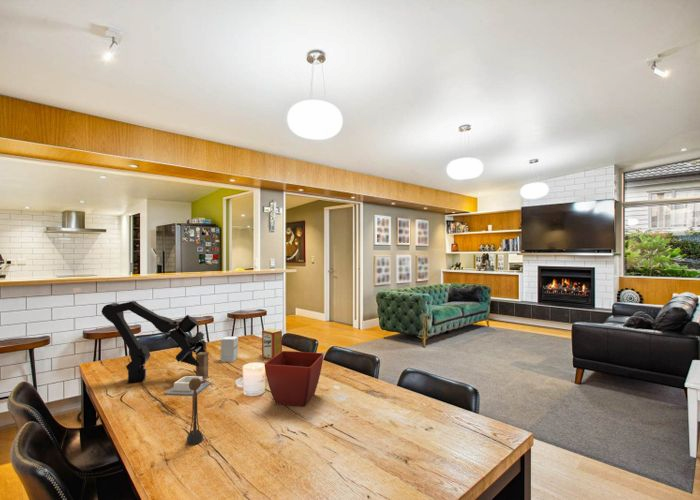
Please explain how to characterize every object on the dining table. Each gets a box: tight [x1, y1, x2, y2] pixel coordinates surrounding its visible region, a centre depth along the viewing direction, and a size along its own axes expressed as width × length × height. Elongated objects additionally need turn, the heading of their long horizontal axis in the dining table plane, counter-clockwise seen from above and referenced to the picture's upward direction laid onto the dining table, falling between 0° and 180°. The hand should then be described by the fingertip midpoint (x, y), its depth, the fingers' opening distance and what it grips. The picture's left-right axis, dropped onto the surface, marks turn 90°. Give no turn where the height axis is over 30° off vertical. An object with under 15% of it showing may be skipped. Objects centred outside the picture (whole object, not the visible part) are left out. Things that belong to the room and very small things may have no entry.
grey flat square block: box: [163, 375, 212, 396], centre depth 154 cm, size 14×14×4 cm
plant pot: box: [264, 350, 324, 407], centre depth 142 cm, size 19×19×17 cm
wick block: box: [195, 351, 209, 380], centre depth 167 cm, size 4×4×12 cm
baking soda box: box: [261, 328, 283, 361], centre depth 200 cm, size 10×6×16 cm
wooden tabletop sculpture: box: [185, 378, 207, 446], centre depth 111 cm, size 6×5×20 cm
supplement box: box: [220, 336, 239, 363], centre depth 196 cm, size 7×7×13 cm
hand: (203, 362), depth 167 cm, fingers open, 9 cm apart
